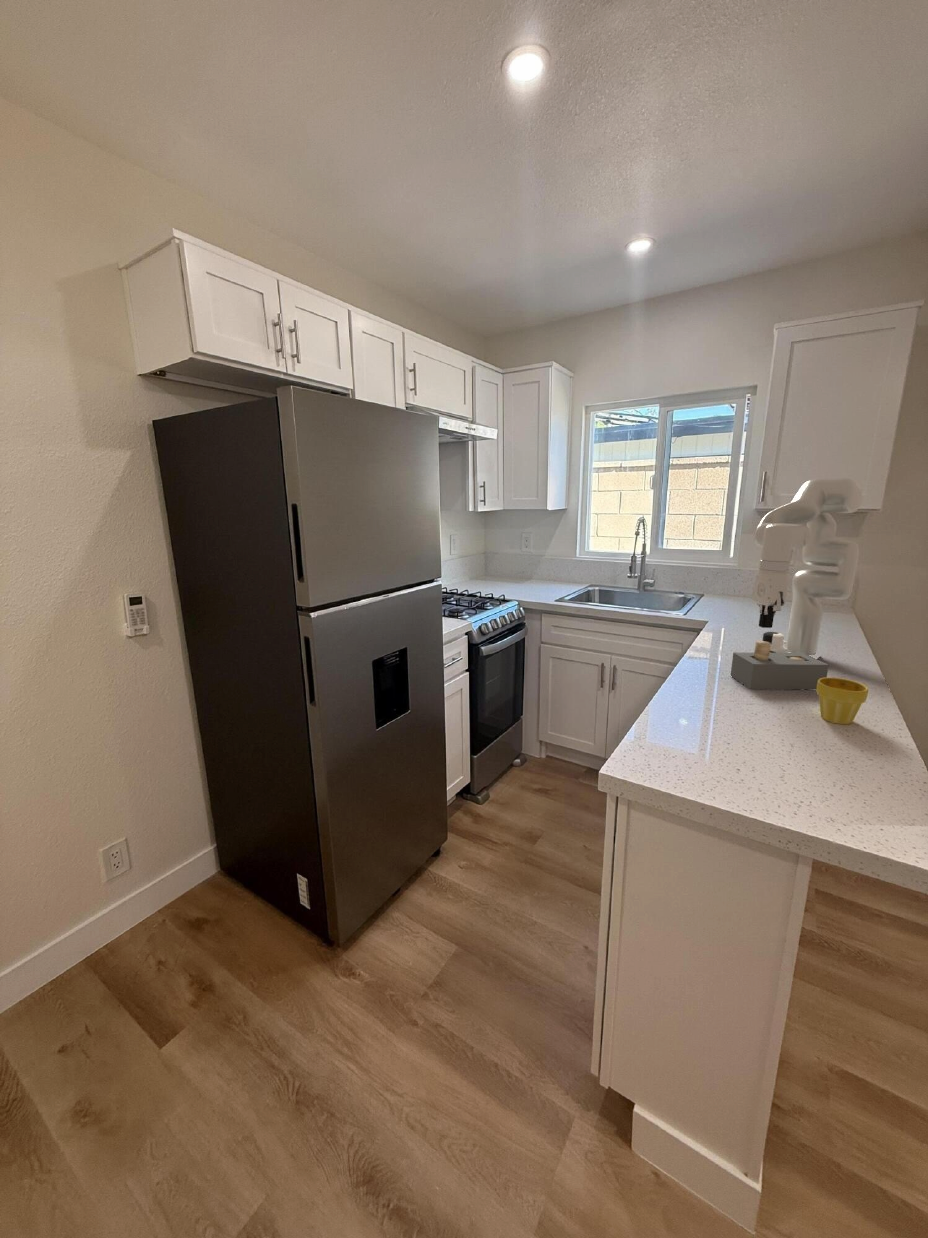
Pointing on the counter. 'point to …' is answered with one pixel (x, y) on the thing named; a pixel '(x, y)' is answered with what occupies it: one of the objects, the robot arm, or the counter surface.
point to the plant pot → (840, 699)
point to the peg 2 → (797, 659)
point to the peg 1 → (762, 650)
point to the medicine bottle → (775, 642)
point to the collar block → (778, 671)
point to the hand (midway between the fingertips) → (765, 627)
